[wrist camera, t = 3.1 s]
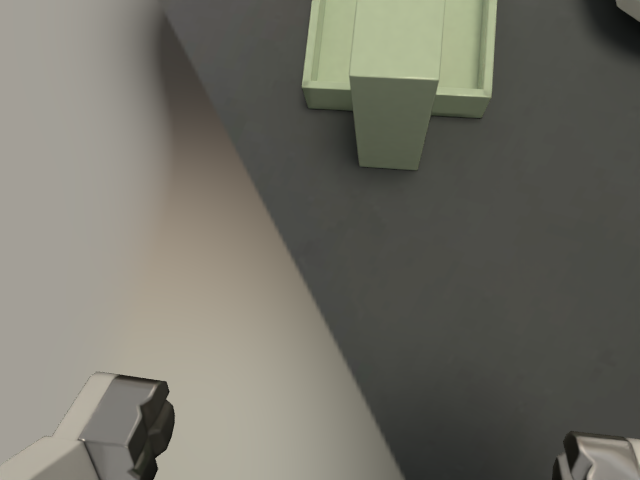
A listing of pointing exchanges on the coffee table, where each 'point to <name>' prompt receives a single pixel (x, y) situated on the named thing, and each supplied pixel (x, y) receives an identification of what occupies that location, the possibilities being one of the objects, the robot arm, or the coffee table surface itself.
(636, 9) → the geometric ball
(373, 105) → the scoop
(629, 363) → the coffee table surface
